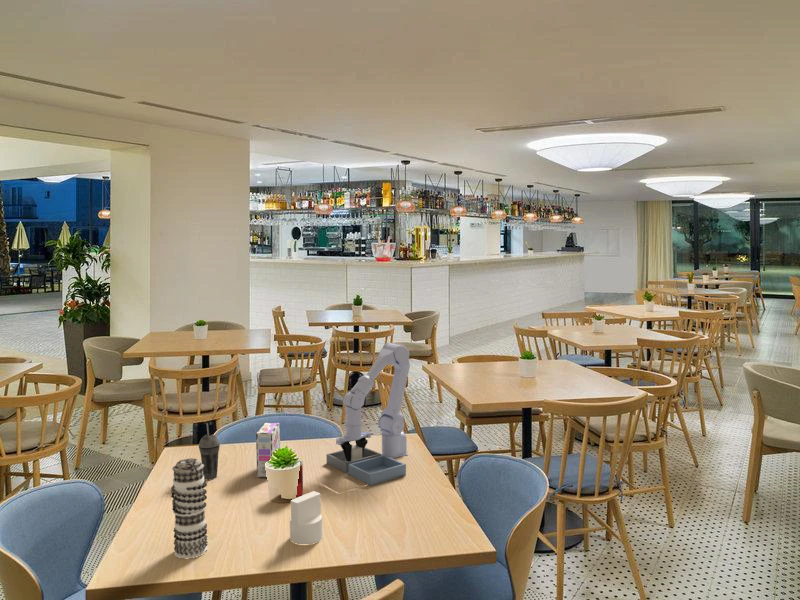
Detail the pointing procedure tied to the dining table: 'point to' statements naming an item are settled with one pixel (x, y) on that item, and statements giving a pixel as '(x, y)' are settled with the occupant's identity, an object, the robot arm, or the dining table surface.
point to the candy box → (266, 445)
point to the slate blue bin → (377, 469)
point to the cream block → (356, 453)
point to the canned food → (300, 481)
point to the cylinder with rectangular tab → (306, 519)
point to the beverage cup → (209, 454)
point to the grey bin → (340, 461)
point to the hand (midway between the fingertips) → (353, 459)
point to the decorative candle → (189, 508)
